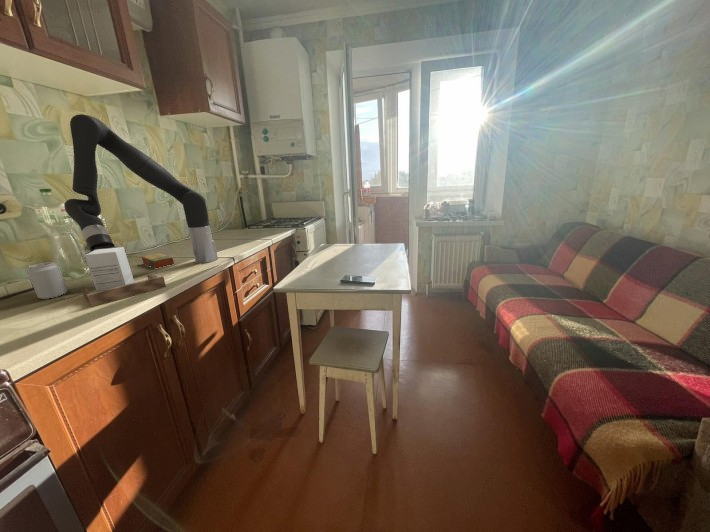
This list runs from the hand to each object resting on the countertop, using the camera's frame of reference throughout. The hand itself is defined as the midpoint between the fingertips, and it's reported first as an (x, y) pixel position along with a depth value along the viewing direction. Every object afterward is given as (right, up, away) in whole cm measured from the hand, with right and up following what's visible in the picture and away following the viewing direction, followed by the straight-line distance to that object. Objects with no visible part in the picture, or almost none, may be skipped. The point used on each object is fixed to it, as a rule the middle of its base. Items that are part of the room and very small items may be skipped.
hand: (114, 273), depth 106 cm
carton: (-4, +3, +29) cm, 30 cm away
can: (-16, -8, -7) cm, 19 cm away
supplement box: (+3, -6, -3) cm, 7 cm away
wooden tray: (+8, -6, -5) cm, 11 cm away
